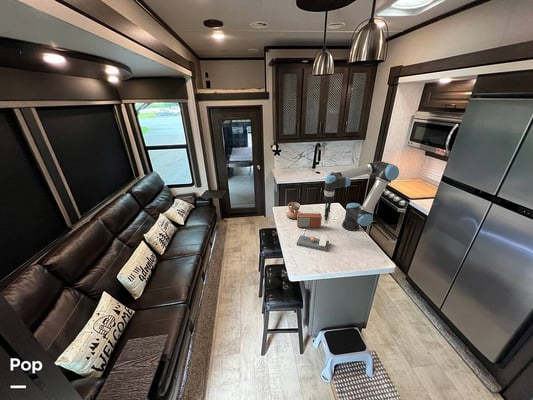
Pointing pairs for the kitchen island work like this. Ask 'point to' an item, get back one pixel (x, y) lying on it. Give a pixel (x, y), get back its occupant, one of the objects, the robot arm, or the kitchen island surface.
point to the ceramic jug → (293, 210)
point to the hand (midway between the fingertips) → (326, 221)
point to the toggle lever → (304, 232)
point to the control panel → (309, 219)
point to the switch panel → (311, 243)
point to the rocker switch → (323, 240)
